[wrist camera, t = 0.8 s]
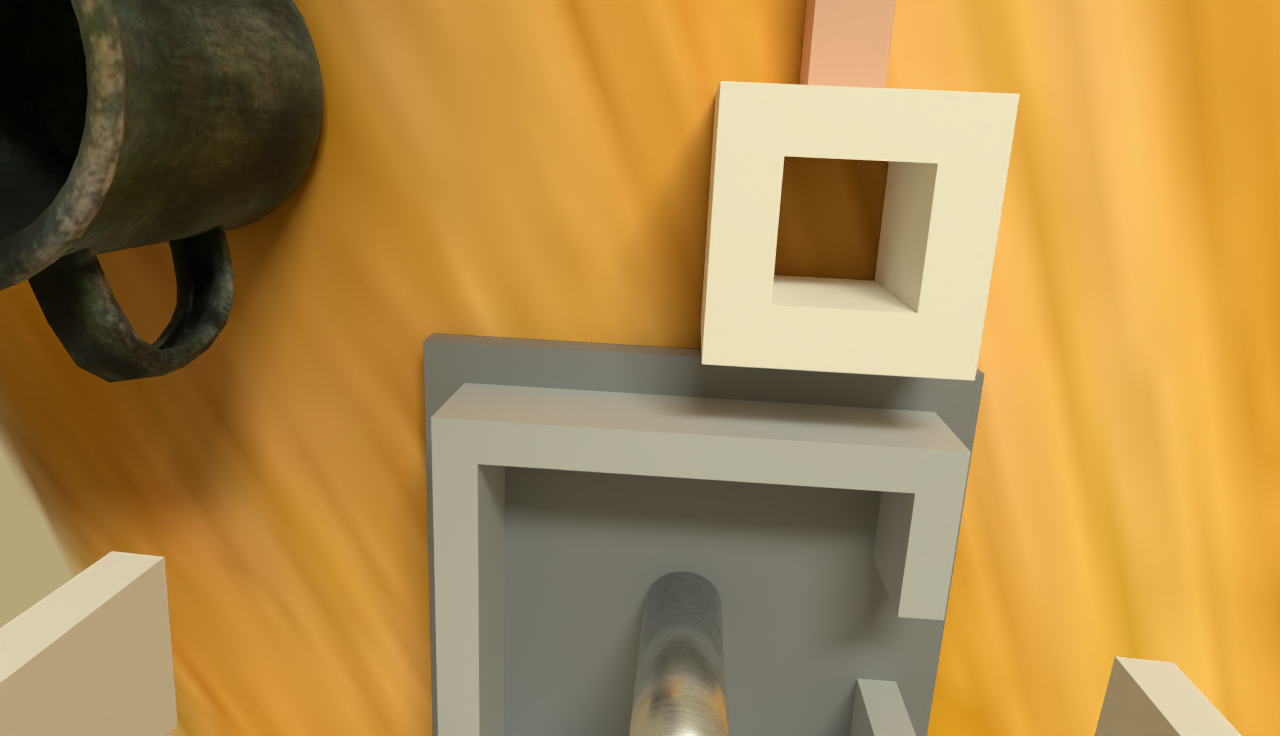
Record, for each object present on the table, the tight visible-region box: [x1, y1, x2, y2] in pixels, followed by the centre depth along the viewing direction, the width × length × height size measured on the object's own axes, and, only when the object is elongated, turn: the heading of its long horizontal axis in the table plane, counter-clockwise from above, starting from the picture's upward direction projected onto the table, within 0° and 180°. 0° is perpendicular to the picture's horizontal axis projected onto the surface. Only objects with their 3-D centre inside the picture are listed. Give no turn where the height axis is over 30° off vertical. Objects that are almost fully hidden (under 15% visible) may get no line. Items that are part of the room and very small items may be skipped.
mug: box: [0, 0, 323, 382], centre depth 24 cm, size 11×15×12 cm
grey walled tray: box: [423, 333, 984, 736], centre depth 31 cm, size 20×20×5 cm
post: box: [629, 571, 729, 736], centre depth 27 cm, size 3×3×10 cm
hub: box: [701, 0, 1020, 381], centre depth 26 cm, size 13×8×6 cm, turn 177°
